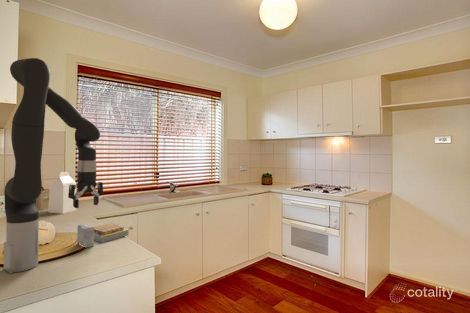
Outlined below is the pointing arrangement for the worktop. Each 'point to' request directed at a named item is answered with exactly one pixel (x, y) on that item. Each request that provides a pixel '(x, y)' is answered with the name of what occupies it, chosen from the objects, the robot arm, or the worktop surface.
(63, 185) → the milk
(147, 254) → the worktop surface
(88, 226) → the medicine box
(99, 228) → the pallet
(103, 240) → the dock
